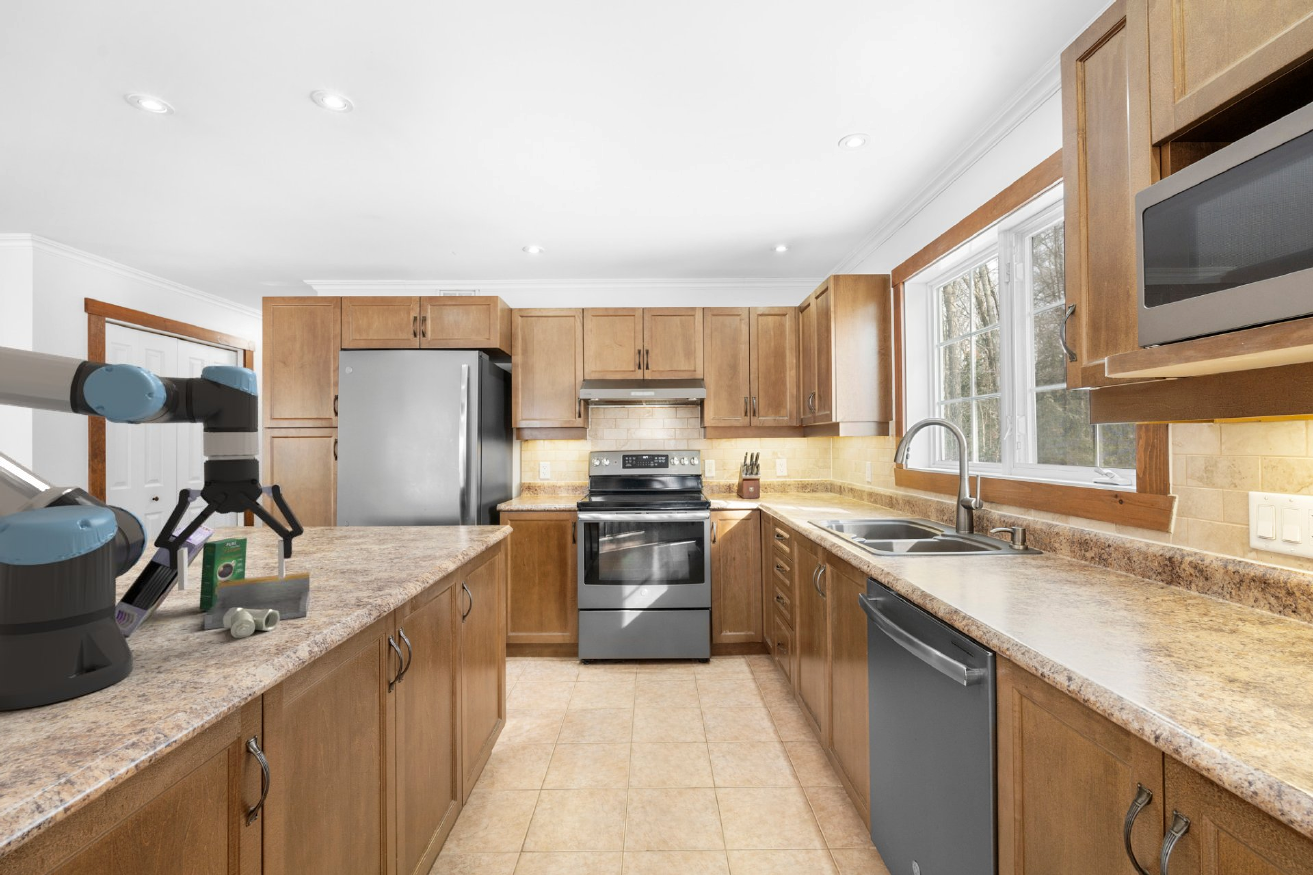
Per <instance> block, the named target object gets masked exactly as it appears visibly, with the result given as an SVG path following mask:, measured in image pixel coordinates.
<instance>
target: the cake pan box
mask: <svg viewBox="0 0 1313 875" xmlns="http://www.w3.org/2000/svg"><path fill="white" fill-rule="evenodd" d="M192 521H193V520H192ZM192 521H190V522H188V523H187V524H184V525H182V526H180V527H179V528H178V529H177V530H176V529H175V531H174V532H173V534H172V536H171V537H170V539H169V540H173V541H174V540H175V538H176V537H177V536H178V535H179V534H180V533H181V532H182V531H183V530H184V529H185V528H186V527H187V526H188V525H189V524H190V523H191V522H192ZM215 532H216V529H213V528H212V527H210V526H207V525H205V524H204V523H203V524H202V525H201V526H200V527H199V528H198V529H197V530H196V531H195V532H194V533H193V534H192V535H191V536H190V537H189V538H188V539H187V540H186V541H185V542H184V544H183V545H182V546H181V548H187V554H188V568H189V567H190V566H191V565H192V563H193V562H194V560H195V559H196V557H197V556H198V554H200V553H201V551H203V545H204V543H205V542H209V540H210V539H211V537H212V536H213V535H214V534H215ZM177 584H178V569H176V570H171V569H170V563H169V550H167V549H165V548H160V547H159V548H158V549H157V550H156V552H155V553H154V554H153V556H152V557H151V559H150V560H149V561H148V563H147V564H146V566H144V569H142V571H141V572H140V573H139V575H138V576H137V578H136V579H135V580H134V581H133V582H132V584H131V585H130V587H129V588H128V589H127V590H126V591H125V593H124V595H123V596H122V597H121V598H120V600H119V601H118V602H117V604H116V620H117V622H118V624H119V626H120V628H121V630H122V632H123V635H124V637H128V638H129V637H130V636H132V635H133V634H134V632H136V630H137V629H138V628H139V627H140V626H142V625H143V623H144V622H145V621H147V619H149V617H151V616H152V615H153V614H154V613H155V612H156V611H157V610H158V609H159V608H160V607H161V605H162V603H163V602H165V600H166V598H167V597H168V596H169V595H170V593H171V592H172V590H173V589H174V587H175V586H176V585H177Z"/></svg>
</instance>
